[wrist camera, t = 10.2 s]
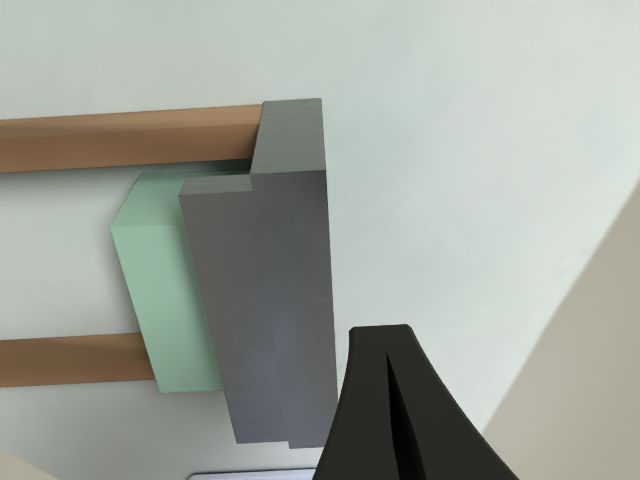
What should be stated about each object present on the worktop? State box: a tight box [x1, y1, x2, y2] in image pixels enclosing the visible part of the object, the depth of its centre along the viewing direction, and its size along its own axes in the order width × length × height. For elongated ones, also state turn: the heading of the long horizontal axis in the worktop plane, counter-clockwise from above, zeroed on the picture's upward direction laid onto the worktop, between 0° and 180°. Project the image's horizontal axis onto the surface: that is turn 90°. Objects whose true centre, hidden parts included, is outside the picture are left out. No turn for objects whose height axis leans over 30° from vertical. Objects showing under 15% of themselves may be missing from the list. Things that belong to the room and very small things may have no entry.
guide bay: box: [0, 98, 338, 449], centre depth 19 cm, size 12×18×6 cm, turn 93°
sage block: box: [110, 170, 251, 393], centre depth 21 cm, size 8×5×4 cm, turn 2°
